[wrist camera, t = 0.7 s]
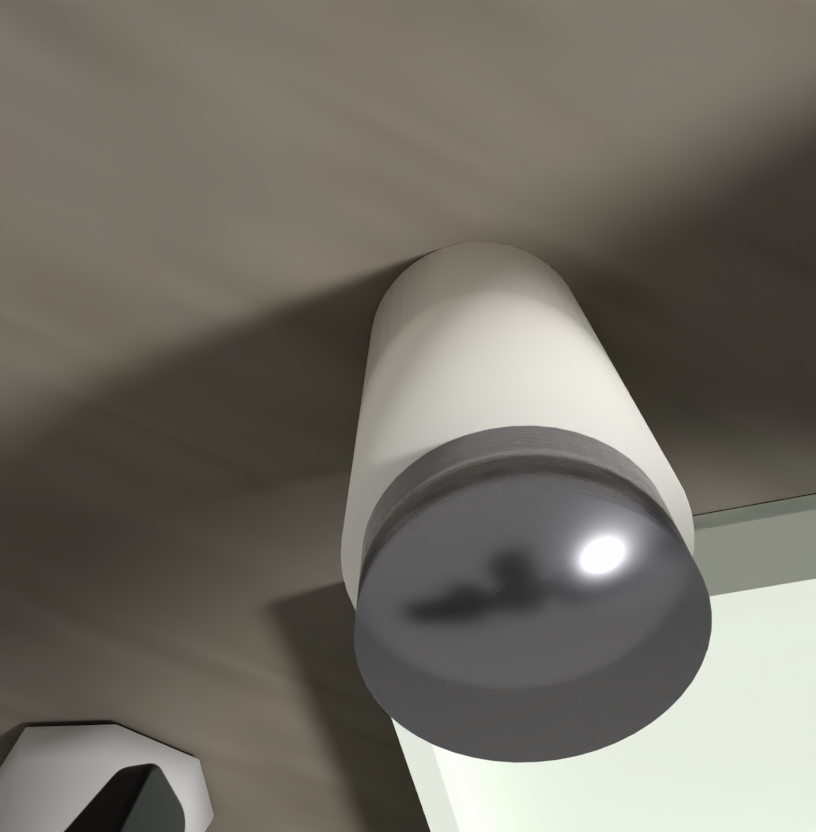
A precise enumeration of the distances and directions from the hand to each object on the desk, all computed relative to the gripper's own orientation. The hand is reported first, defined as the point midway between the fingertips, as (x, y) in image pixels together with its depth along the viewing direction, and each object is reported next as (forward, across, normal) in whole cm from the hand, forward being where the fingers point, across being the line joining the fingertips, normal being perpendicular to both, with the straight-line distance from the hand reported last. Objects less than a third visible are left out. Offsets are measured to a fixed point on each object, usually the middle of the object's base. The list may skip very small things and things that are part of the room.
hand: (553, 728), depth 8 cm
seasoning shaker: (+11, 0, 0) cm, 11 cm away
